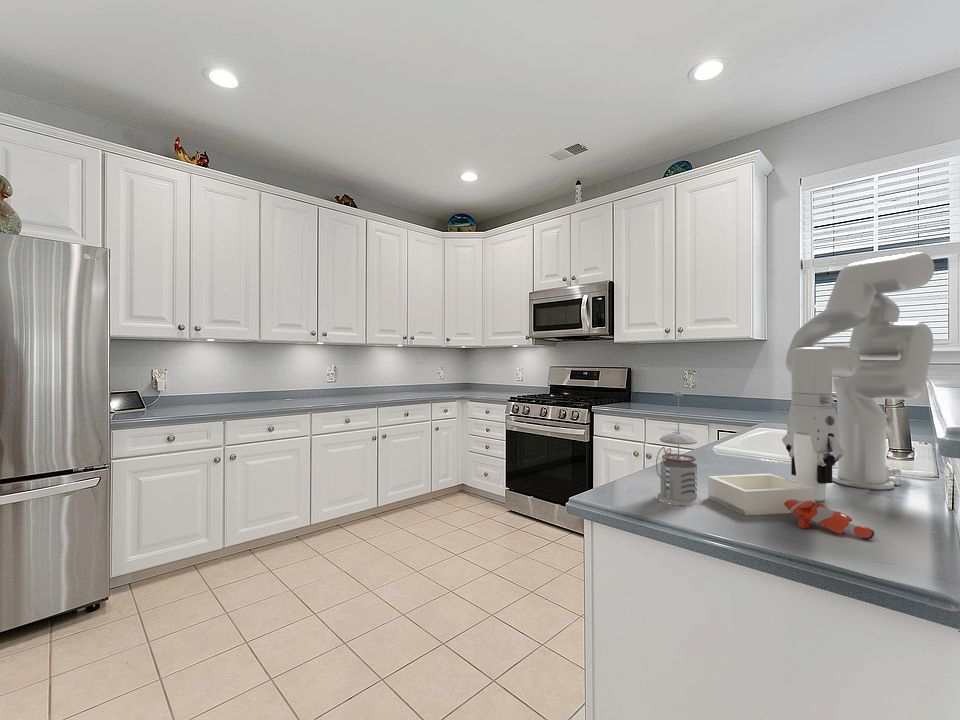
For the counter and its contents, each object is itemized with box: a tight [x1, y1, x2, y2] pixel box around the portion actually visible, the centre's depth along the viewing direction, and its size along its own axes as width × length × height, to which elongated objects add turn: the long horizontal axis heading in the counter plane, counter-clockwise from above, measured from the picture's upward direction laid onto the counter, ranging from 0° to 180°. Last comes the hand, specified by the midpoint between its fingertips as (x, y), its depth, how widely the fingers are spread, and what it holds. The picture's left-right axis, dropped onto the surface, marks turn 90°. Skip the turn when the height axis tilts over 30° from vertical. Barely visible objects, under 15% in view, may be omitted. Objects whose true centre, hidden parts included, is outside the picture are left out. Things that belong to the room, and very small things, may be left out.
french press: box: [655, 390, 703, 507], centre depth 105 cm, size 10×12×25 cm
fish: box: [784, 499, 875, 541], centre depth 87 cm, size 13×5×9 cm
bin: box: [707, 473, 815, 517], centre depth 101 cm, size 16×12×5 cm
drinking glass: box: [793, 432, 830, 502], centre depth 105 cm, size 7×7×15 cm
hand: (811, 478), depth 105 cm, fingers closed on drinking glass, 6 cm apart
